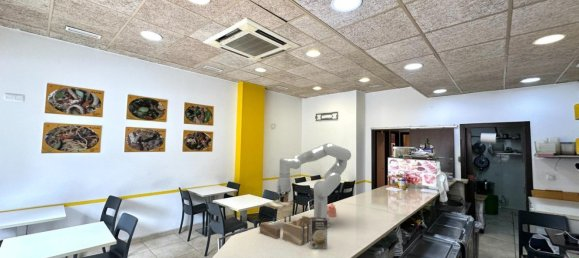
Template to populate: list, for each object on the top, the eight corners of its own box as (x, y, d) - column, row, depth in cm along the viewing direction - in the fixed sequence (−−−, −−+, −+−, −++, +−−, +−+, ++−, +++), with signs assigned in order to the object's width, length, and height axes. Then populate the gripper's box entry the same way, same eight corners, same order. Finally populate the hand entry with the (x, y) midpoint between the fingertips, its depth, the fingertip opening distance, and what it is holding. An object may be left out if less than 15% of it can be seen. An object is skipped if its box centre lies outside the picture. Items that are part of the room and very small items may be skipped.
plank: (263, 231, 161) (263, 222, 161) (280, 238, 151) (280, 228, 151) (259, 233, 159) (259, 223, 159) (276, 239, 149) (277, 229, 149)
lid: (280, 200, 179) (280, 192, 179) (293, 204, 170) (293, 195, 171) (263, 205, 166) (263, 196, 166) (276, 208, 158) (277, 199, 158)
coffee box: (311, 249, 135) (311, 220, 136) (309, 244, 141) (310, 217, 142) (327, 249, 135) (327, 220, 136) (325, 244, 142) (325, 217, 142)
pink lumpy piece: (322, 210, 211) (322, 199, 212) (333, 210, 212) (333, 199, 212) (327, 217, 193) (327, 204, 194) (338, 217, 194) (338, 204, 195)
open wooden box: (302, 230, 164) (302, 210, 165) (320, 236, 154) (320, 215, 155) (282, 239, 149) (282, 217, 150) (301, 246, 139) (301, 223, 140)
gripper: (288, 173, 182) (287, 198, 181) (272, 176, 169) (272, 202, 169) (296, 174, 177) (295, 200, 176) (280, 177, 164) (279, 204, 164)
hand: (284, 201), depth 172 cm, fingers closed on lid, 4 cm apart
